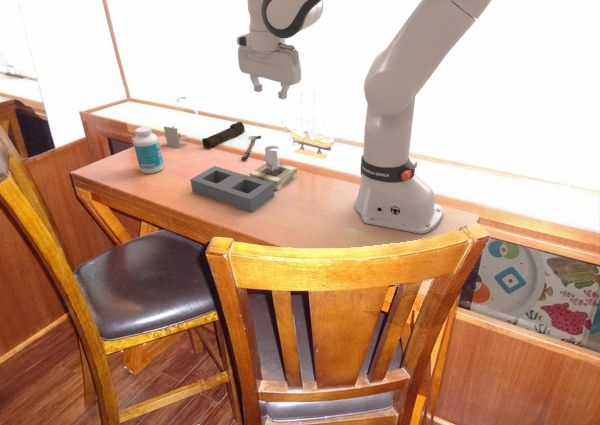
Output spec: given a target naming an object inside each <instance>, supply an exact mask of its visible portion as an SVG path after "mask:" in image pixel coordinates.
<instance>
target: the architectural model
mask: <svg viewBox="0 0 600 425" xmlns="http://www.w3.org/2000/svg"><path fill="white" fill-rule="evenodd" d="M178 129H179V128H176V127H175V125H173V126H172V127H170V126H163V132H164V135H165V139H166V143H167V146H170V147H175V148H181V143H180V140H181V141H182V140H184V139H186V138H188V135H186V134H181V132H179V131H178Z"/></svg>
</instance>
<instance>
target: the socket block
mask: <svg viewBox="0 0 600 425" xmlns="http://www.w3.org/2000/svg"><path fill="white" fill-rule="evenodd" d="M249 176H250V177H253V178H257V179H260V180H263V181H267V182H270V183H273V184H274V191H279V190H281V189H282V188H283V187H285V186H286V185H288V184H289V183H291V182H292V181H293V180H295V179H296V178H297V177H298V167H295V166H292V165H288V164H285V163H282V162H281V163H280V174H279V175H278V176H276V177H274V176H271V175H267V168H266V162H265V163H264V164H262V165H260V166H259V167H258V168H256V169H254V170H253V171H251V172H250V173H249Z"/></svg>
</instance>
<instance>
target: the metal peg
mask: <svg viewBox="0 0 600 425" xmlns="http://www.w3.org/2000/svg"><path fill="white" fill-rule="evenodd" d="M264 153H265V163H266V168H267V175H271V176H274V177H276V176H278V175H279V174H280V159H281V158H280V147H278V146H276V145H270V146H266V147H265V148H264Z"/></svg>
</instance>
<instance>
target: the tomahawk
mask: <svg viewBox="0 0 600 425" xmlns="http://www.w3.org/2000/svg"><path fill="white" fill-rule="evenodd" d="M259 139H262V135H258V136H256V135H255V136H254V135H253V136H250V137H248V140H250V143H249V145H248V147H247V148H246V151H245V153H244V155H243V156H241V160H243V161H246V160H247V159H248V158H250V155H251V153H250V152H252V150H253V148H254V145H255V143H256V140H259ZM252 147H253V148H252ZM251 149H252V150H251Z"/></svg>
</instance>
